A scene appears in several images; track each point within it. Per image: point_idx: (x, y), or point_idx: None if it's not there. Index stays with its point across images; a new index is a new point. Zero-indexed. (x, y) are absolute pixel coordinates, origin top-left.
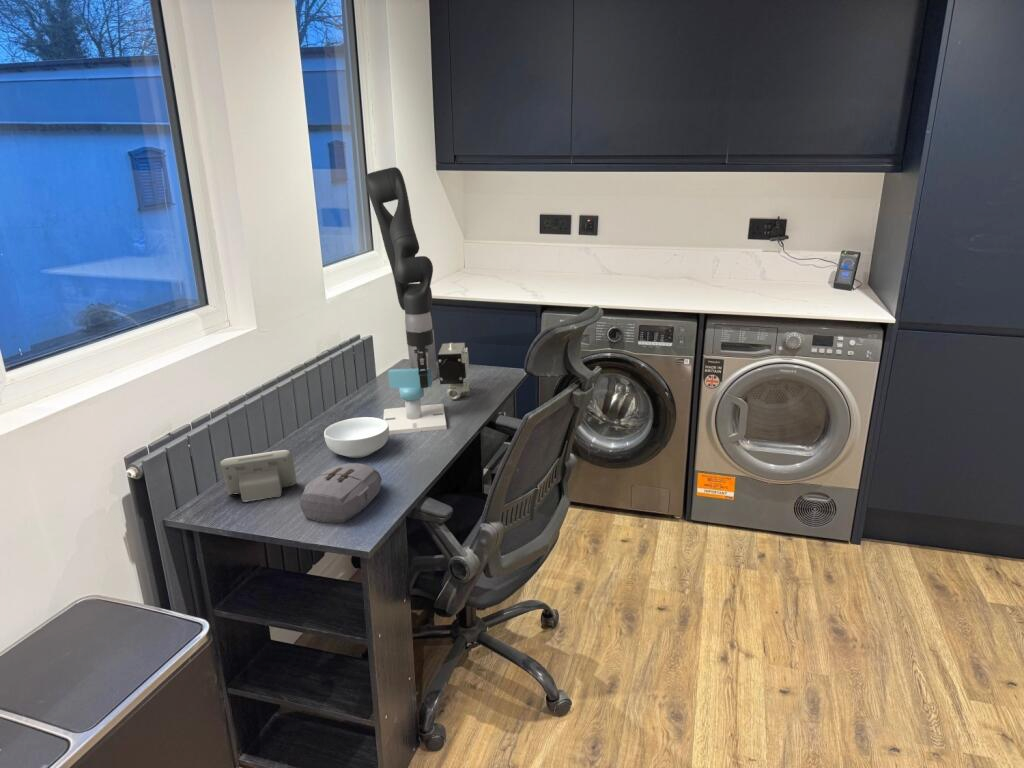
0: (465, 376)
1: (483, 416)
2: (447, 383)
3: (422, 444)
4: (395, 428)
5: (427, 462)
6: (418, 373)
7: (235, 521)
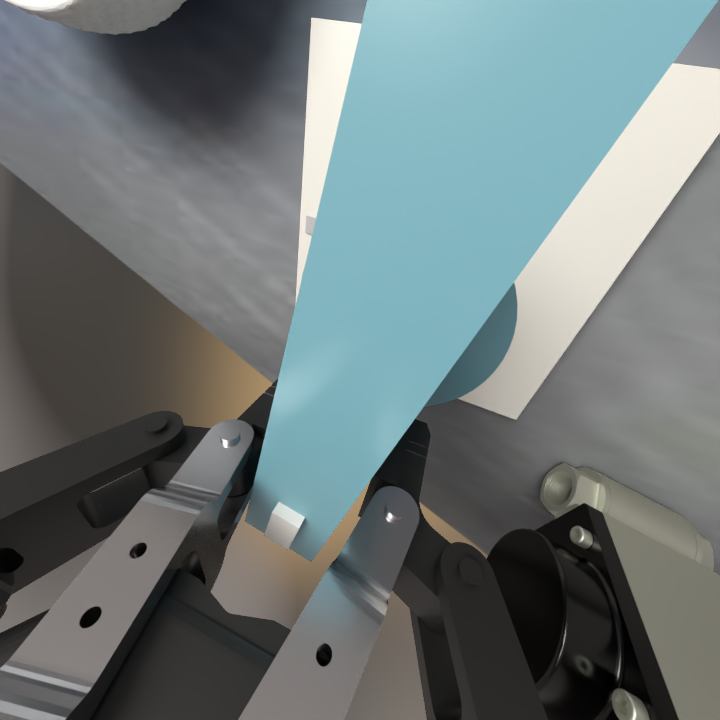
0: None
1: None
2: (555, 522)
3: (202, 217)
4: (326, 119)
5: (92, 196)
6: (143, 424)
7: None
